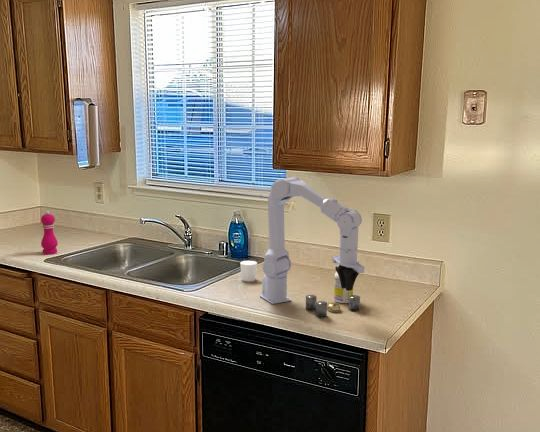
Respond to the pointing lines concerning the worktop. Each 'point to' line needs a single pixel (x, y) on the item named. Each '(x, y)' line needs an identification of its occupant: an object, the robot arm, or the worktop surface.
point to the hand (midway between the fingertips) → (346, 289)
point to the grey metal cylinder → (354, 303)
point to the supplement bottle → (341, 291)
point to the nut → (333, 307)
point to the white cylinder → (248, 270)
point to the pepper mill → (48, 234)
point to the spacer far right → (321, 309)
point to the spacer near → (311, 302)
